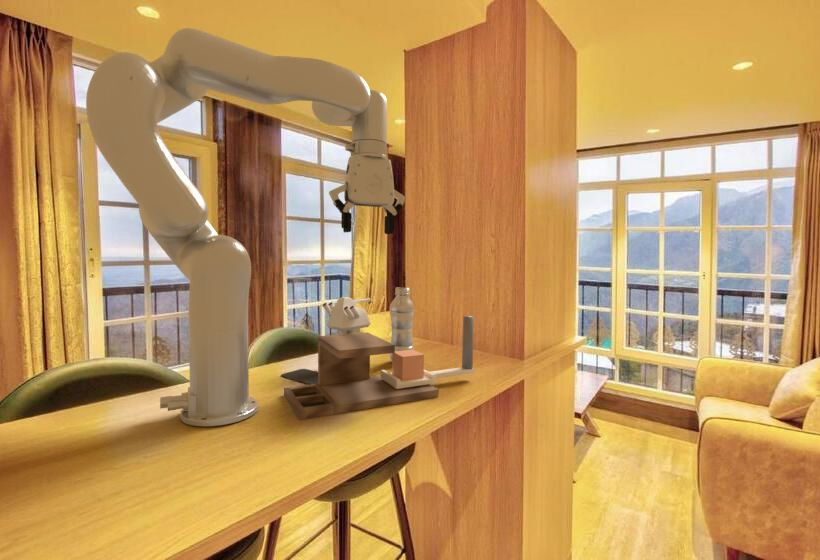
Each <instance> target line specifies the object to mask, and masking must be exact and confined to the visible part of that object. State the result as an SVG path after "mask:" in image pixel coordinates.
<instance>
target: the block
mask: <svg viewBox="0 0 820 560" xmlns="http://www.w3.org/2000/svg"><path fill="white" fill-rule="evenodd" d="M391 362H392V363H391V367H392V368H391V372H392V375H394V376H395V377H397V378H399V379H400V380H402V381H405V380H412V379H419V378H424V369H425V367H424V366H425V354H424V353H421V352H420V351H417V350H415V349H414V350H404V351H395V353H392V361H391Z"/></svg>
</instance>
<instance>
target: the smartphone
mask: <svg viewBox="0 0 820 560" xmlns="http://www.w3.org/2000/svg"><path fill="white" fill-rule="evenodd" d="M280 378H283V379H288V380H291V381H294V382H297V383H301V384H303V383H304V384H303V385H310V384H318V371H316V370H311V369H307V368H298V369H296V370H295V369H294V370H292V371H288V372H284V373H281V374H280Z"/></svg>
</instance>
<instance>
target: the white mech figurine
mask: <svg viewBox="0 0 820 560" xmlns="http://www.w3.org/2000/svg"><path fill="white" fill-rule="evenodd" d="M371 300H372V299H371V298H370V297H367V298H363V299H362V298H361V299H353V298H351V297H349V296H344V297H343V296H342V297H339V298H337V301H336V303H335V304H334V302H333V301H330V302H329V303H327V302H324V303H323V304H322V305H321V306H322V307H323V308H324V310H325V311H326V313H327V314H329V318H328V320H327V323H326V326H327V327H328V328H329V329H332V330H336V331H337V333H336V335H341V334H354V333H361V329H365V328H368V327H370V326H371V321H370V318H369V316H368V313H367V311H366V309H364V308H360V307H358V306H357V305H356V304H358V303H364V302H367V303H370V302H371Z"/></svg>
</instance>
